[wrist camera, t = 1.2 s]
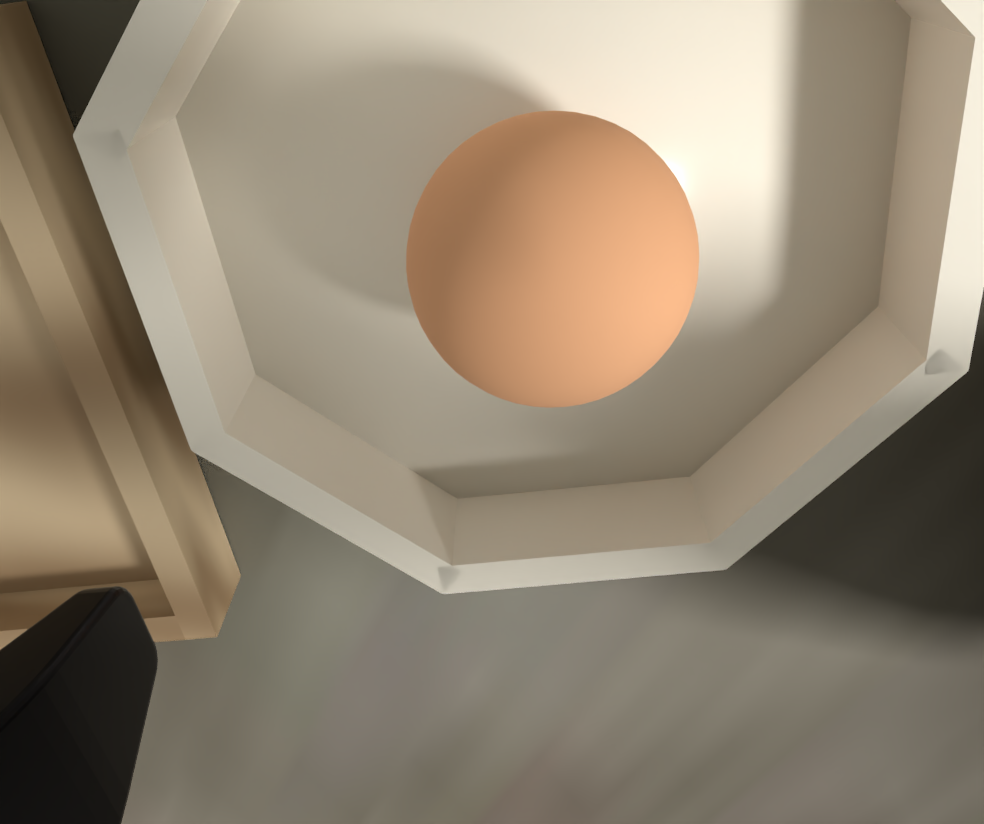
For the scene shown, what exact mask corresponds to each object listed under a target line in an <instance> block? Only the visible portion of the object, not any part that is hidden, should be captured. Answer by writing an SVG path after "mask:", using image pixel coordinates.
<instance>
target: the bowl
mask: <svg viewBox="0 0 984 824" xmlns="http://www.w3.org/2000/svg"><path fill="white" fill-rule="evenodd" d="M539 111H569V112H577V113H582V114H587V115H591V116H596V117H599V118H601V119H604V120H607V121H610V122H612V123H615V124H617V125H618V126H620V127H622V128H624V129H626V130H628V131H630V132H631V133H633V134H634V135H636V136H637V137H638V138H640V139H641V140H642V141H644V142H645V143H646V144H647V145H649V146H650V147H651V148H652V149H653V150H654V151H655V152H656V153H657V154H658V155H659V156H660V157H661V158H662V159H663V160H664V162H665V163H666V164H667V166H668V167H669V168H670V169H671V171H672V172H673V173H674V175H675V176H676V178H677V180H678V181H679V183H680V185H681V187H682V189H683V190H684V192H685V194H686V197H687V200H688V202H689V205H690V208H691V210H692V213H693V216H694V220H695V224H696V229H697V233H698V243H699V270H698V281H697V286H696V290H695V295H694V299H693V301H692V304H691V307H690V310H689V313H688V315H687V318H686V320H685V322H684V324H683V326H682V328H681V330H680V332H679V334H678V336H677V337H676V339H675V340H674V342H673V343H672V344H671V346H670V347H669V349H668V350H667V351H666V352H665V353H664V355H663V356H662V357H661V358H660V359H659V360H658V361H657V362H656V363H655V364H654V365H653V366H652V367H651V368H650V369H649V370H648V371H647V372H646V373H644V374H643V375H642V376H641V377H640V378H638V379H637V380H635V381H634V382H632V383H631V384H630V385H628V386H627V387H625V388H623V389H621V390H619V391H617V392H615V393H614V394H611V395H609V396H606V397H604V398H601V399H599V400H596V401H592V402H589V403H585V404H581V405H575V406H568V407H553V408H547V407H533V406H527V405H521V404H516V403H513V402H510V401H507V400H503V399H501V398H498V397H496V396H494V395H491V394H489V393H487V392H485V391H483V390H482V389H480V388H478V387H477V386H475V385H473V384H472V383H470V382H468V381H467V380H466V379H464V378H463V377H462V376H461V375H459V374H458V373H457V372H455V371H454V370H453V369H452V368H451V367H450V366H449V365H448V364H447V363H446V362H445V361H444V360H443V358H442V357H441V356H440V354H439V353H438V352H437V351H436V349H435V348H434V347H433V345H432V344H431V342H430V341H429V339H428V338H427V336H426V334H425V332H424V331H423V329H422V327H421V325H420V323H419V320H418V318H417V315H416V313H415V311H414V307H413V303H412V299H411V296H410V292H409V288H408V281H407V273H406V250H407V242H408V235H409V229H410V224H411V221H412V218H413V214H414V211H415V208H416V206H417V204H418V201H419V199H420V197H421V195H422V193H423V191H424V189H425V187H426V185H427V184H428V182H429V180H430V179H431V177H432V176H433V174H434V173H435V171H436V170H437V168H438V167H439V166H440V165H441V164H442V163H443V161H444V160H445V159H446V158H447V157H448V155H450V154H451V153H452V152H453V151H454V150H455V149H456V148H457V147H458V146H460V145H461V144H462V143H463V142H464V141H466V140H467V139H469V138H470V137H472V136H473V135H475V134H476V133H478V132H479V131H481V130H483V129H485V128H487V127H489V126H491V125H493V124H495V123H497V122H499V121H502V120H505V119H508V118H511V117H514V116H517V115H522V114H527V113H532V112H539ZM73 138H74V141H75V143H76V146H77V149H78V151H79V154H80V157H81V159H82V162H83V165H84V167H85V170H86V173H87V175H88V178H89V181H90V183H91V186H92V188H93V191H94V194H95V196H96V199H97V202H98V204H99V207H100V210H101V212H102V215H103V218H104V220H105V223H106V226H107V228H108V231H109V234H110V236H111V239H112V242H113V244H114V247H115V250H116V252H117V255H118V258H119V260H120V263H121V266H122V268H123V271H124V274H125V276H126V279H127V282H128V284H129V287H130V290H131V292H132V295H133V298H134V300H135V303H136V306H137V308H138V311H139V313H140V316H141V319H142V321H143V324H144V327H145V329H146V332H147V335H148V337H149V340H150V343H151V345H152V348H153V351H154V353H155V356H156V359H157V361H158V364H159V367H160V369H161V372H162V375H163V377H164V380H165V383H166V385H167V388H168V391H169V393H170V396H171V399H172V401H173V404H174V407H175V409H176V412H177V415H178V417H179V420H180V423H181V425H182V428H183V430H184V433H185V436H186V438H187V441H188V444H189V446H190V449H191V450H192V452H194V453H196V454H198V455H199V456H201V457H203V458H205V459H207V460H208V461H210V462H212V463H214V464H215V465H217V466H219V467H221V468H222V469H224V470H226V471H228V472H229V473H231V474H233V475H235V476H236V477H238V478H240V479H242V480H243V481H245V482H247V483H249V484H250V485H252V486H254V487H256V488H257V489H259V490H261V491H263V492H264V493H266V494H268V495H270V496H271V497H273V498H275V499H277V500H278V501H280V502H282V503H284V504H285V505H287V506H289V507H291V508H292V509H294V510H296V511H298V512H299V513H301V514H303V515H305V516H306V517H308V518H310V519H312V520H314V521H315V522H317V523H319V524H321V525H322V526H324V527H326V528H328V529H329V530H331V531H333V532H335V533H336V534H338V535H340V536H342V537H343V538H345V539H347V540H349V541H350V542H352V543H354V544H356V545H357V546H359V547H361V548H363V549H364V550H366V551H368V552H370V553H371V554H373V555H375V556H377V557H378V558H380V559H382V560H384V561H385V562H387V563H389V564H391V565H392V566H394V567H396V568H398V569H399V570H401V571H403V572H405V573H406V574H408V575H410V576H412V577H414V578H415V579H417V580H419V581H421V582H422V583H424V584H426V585H428V586H429V587H431V588H433V589H435V590H436V591H438V592H440V593H442V594H451V593H463V592H474V591H486V590H498V589H509V588H521V587H532V586H544V585H556V584H567V583H579V582H590V581H602V580H613V579H625V578H637V577H648V576H660V575H671V574H683V573H694V572H706V571H718V570H726V569H728V568H729V567H730V566H731V565H732V564H734V563H735V562H736V561H737V560H739V559H740V558H741V557H742V556H743V555H745V554H746V553H747V552H748V551H750V550H751V549H752V548H753V547H754V546H756V545H757V544H758V543H759V542H761V541H762V540H763V539H764V538H765V537H767V536H768V535H769V534H770V533H771V532H773V531H774V530H775V529H776V528H778V527H779V526H780V525H781V524H782V523H784V522H785V521H786V520H787V519H789V518H790V517H791V516H792V515H793V514H795V513H796V512H797V511H798V510H800V509H801V508H802V507H803V506H804V505H806V504H807V503H808V502H809V501H811V500H812V499H813V498H814V497H815V496H817V495H818V494H819V493H820V492H822V491H823V490H824V489H825V488H826V487H828V486H829V485H830V484H831V483H833V482H834V481H835V480H836V479H837V478H839V477H840V476H841V475H842V474H844V473H845V472H846V471H847V470H848V469H850V468H851V467H852V466H853V465H855V464H856V463H857V462H858V461H859V460H861V459H862V458H863V457H864V456H866V455H867V454H868V453H869V452H870V451H872V450H873V449H874V448H875V447H876V446H878V445H879V444H880V443H881V442H883V441H884V440H885V439H886V438H887V437H889V436H890V435H891V434H892V433H894V432H895V431H896V430H897V429H898V428H900V427H901V426H902V425H903V424H905V423H906V422H907V421H908V420H909V419H911V418H912V417H913V416H914V415H916V414H917V413H918V412H919V411H920V410H922V409H923V408H924V407H925V406H927V405H928V404H929V403H930V402H931V401H933V400H934V399H935V398H936V397H938V396H939V395H940V394H941V393H942V392H944V391H945V390H946V389H947V388H949V387H950V386H951V385H952V384H953V383H955V382H956V381H957V380H958V379H960V378H961V377H962V376H963V375H964V374H966V373H967V372H968V371H969V365H970V360H971V354H972V349H973V343H974V338H975V332H976V327H977V321H978V316H979V310H980V305H981V299H982V294H983V288H984V0H140V1H139V3H138V5H137V7H136V9H135V11H134V13H133V15H132V17H131V19H130V21H129V23H128V25H127V27H126V29H125V31H124V33H123V35H122V37H121V39H120V41H119V43H118V45H117V47H116V49H115V51H114V53H113V55H112V57H111V59H110V61H109V63H108V65H107V67H106V69H105V71H104V73H103V75H102V77H101V79H100V81H99V83H98V85H97V87H96V89H95V91H94V93H93V95H92V97H91V99H90V101H89V103H88V105H87V107H86V109H85V111H84V113H83V115H82V117H81V119H80V121H79V123H78V126H77V128H76V130H75V132H74V134H73Z"/></svg>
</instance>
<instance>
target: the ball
mask: <svg viewBox="0 0 984 824" xmlns="http://www.w3.org/2000/svg"><path fill="white" fill-rule="evenodd" d="M698 270H699V243H698V233H697V229H696V224H695V220H694V216H693V213H692V210H691V208H690V205H689V202H688V200H687V197H686V194H685V192H684V190H683V189H682V187H681V185H680V183H679V181H678V180H677V178H676V176H675V175H674V173H673V172H672V171H671V169H670V168H669V167H668V166H667V164H666V163H665V162H664V160H663V159H662V158H661V157H660V156H659V155H658V154H657V153H656V152H655V151H654V150H653V149H652V148H651V147H650V146H649V145H647V144H646V143H645V142H644V141H642V140H641V139H640V138H638V137H637V136H636V135H634V134H633V133H631V132H630V131H628V130H626V129H624V128H622V127H620V126H618V125H617V124H615V123H612V122H610V121H607V120H604V119H601V118H599V117H596V116H591V115H587V114H582V113H577V112H569V111H539V112H532V113H527V114H522V115H517V116H514V117H511V118H508V119H505V120H502V121H499V122H497V123H495V124H493V125H491V126H489V127H487V128H485V129H483V130H481V131H479V132H478V133H476V134H475V135H473V136H472V137H470V138H469V139H467V140H466V141H464V142H463V143H462V144H461V145H460V146H458V147H457V148H456V149H455V150H454V151H453V152H452V153H451V154H450V155H448V157H447V158H446V159H445V160H444V161H443V163H442V164H441V165H440V166H439V167H438V168H437V170H436V171H435V173H434V174H433V176H432V177H431V179H430V180H429V182H428V184H427V185H426V187H425V189H424V191H423V193H422V195H421V197H420V199H419V201H418V204H417V206H416V208H415V211H414V214H413V218H412V221H411V224H410V229H409V235H408V242H407V250H406V273H407V281H408V288H409V292H410V296H411V299H412V303H413V307H414V311H415V313H416V315H417V318H418V320H419V323H420V325H421V327H422V329H423V331H424V332H425V334H426V336H427V338H428V339H429V341H430V342H431V344H432V345H433V347H434V348H435V349H436V351H437V352H438V353H439V354H440V356H441V357H442V358H443V360H444V361H445V362H446V363H447V364H448V365H449V366H450V367H451V368H452V369H453V370H454V371H455V372H457V373H458V374H459V375H461V376H462V377H463V378H464V379H466V380H467V381H468V382H470V383H472V384H473V385H475V386H477V387H478V388H480V389H482V390H483V391H485V392H487V393H489V394H491V395H494V396H496V397H498V398H501V399H503V400H507V401H510V402H513V403H516V404H521V405H527V406H533V407H547V408H553V407H568V406H575V405H581V404H585V403H589V402H592V401H596V400H599V399H601V398H604V397H606V396H609V395H611V394H614V393H615V392H617V391H619V390H621V389H623V388H625V387H627V386H628V385H630V384H631V383H632V382H634V381H635V380H637V379H638V378H640V377H641V376H642V375H643V374H644V373H646V372H647V371H648V370H649V369H650V368H651V367H652V366H653V365H654V364H655V363H656V362H657V361H658V360H659V359H660V358H661V357H662V356H663V355H664V353H665V352H666V351H667V350H668V349H669V347H670V346H671V344H672V343H673V342H674V340H675V339H676V337H677V336H678V334H679V332H680V330H681V328H682V326H683V324H684V322H685V320H686V318H687V315H688V313H689V310H690V307H691V304H692V301H693V299H694V295H695V290H696V286H697V281H698Z"/></svg>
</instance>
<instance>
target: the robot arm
mask: <svg viewBox="0 0 984 824" xmlns="http://www.w3.org/2000/svg"><path fill="white" fill-rule="evenodd" d="M157 662H158V659H157V650H156V646H155V643H154V641H153V639H152V636H151V634H150V632H149V630H148V628H147V626H146V624H145V621H144V619H143V617H142V615H141V613H140V611H139V609H138V606H137V604H136V602H135V600H134V598H133V596H132V595H131V593H130V592H129V591H128V590H127V589H125V588H123V587H119V586H113V587H102V588H90V589H85V590H81V591H79V592H77V593H76V594H74V595H73V596H72V597H70V598H69V599H68V600H66V601H65V602H64V603H62V604H61V605H60V606H58V607H57V608H56V609H54V610H53V611H52V612H50V613H49V614H48V615H46V616H45V617H43V618H42V619H41V620H39V621H38V622H37V623H35V624H34V625H33V626H31V627H30V628H29V629H27V630H26V631H25V632H23V633H22V634H21V635H19V636H18V637H17V638H15V639H14V640H13V641H11V642H10V643H9V644H7V645H6V646H5V647H3V648H2V649H1V650H0V824H121V821H122V818H123V814H124V810H125V806H126V802H127V798H128V795H129V790H130V786H131V781H132V777H133V773H134V768H135V764H136V760H137V755H138V751H139V746H140V742H141V738H142V733H143V729H144V725H145V720H146V716H147V711H148V707H149V703H150V698H151V694H152V689H153V685H154V681H155V676H156V672H157Z"/></svg>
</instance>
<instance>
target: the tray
mask: <svg viewBox="0 0 984 824" xmlns="http://www.w3.org/2000/svg"><path fill="white" fill-rule="evenodd" d="M74 132H75V130H74V127H73V125H72V122H71V119H70V117H69V114H68V111H67V109H66V106H65V103H64V101H63V98H62V95H61V93H60V90H59V87H58V85H57V82H56V79H55V77H54V74H53V71H52V68H51V66H50V63H49V60H48V58H47V55H46V52H45V50H44V47H43V44H42V42H41V39H40V36H39V34H38V31H37V28H36V26H35V23H34V20H33V18H32V15H31V12H30V10H29V7H28V4H27V2H26V1H20V2H14V3H7V4H0V650H1V649H2V648H3V647H5V646H6V645H7V644H9V643H10V642H11V641H13V640H14V639H15V638H17V637H18V636H19V635H21V634H22V633H23V632H25V631H26V630H27V629H29V628H30V627H31V626H33V625H34V624H35V623H37V622H38V621H39V620H41V619H42V618H43V617H45V616H46V615H48V614H49V613H50V612H52V611H53V610H54V609H56V608H57V607H58V606H60V605H61V604H62V603H64V602H65V601H66V600H68V599H69V598H70V597H72V596H73V595H74V594H76V593H77V592H79V591H81V590H85V589H90V588H102V587H113V586H119V587H123V588H125V589H127V590H128V591H129V592H130V593H131V595H132V596H133V598H134V600H135V602H136V604H137V606H138V609H139V611H140V613H141V615H142V617H143V619H144V621H145V624H146V626H147V628H148V630H149V632H150V634H151V636H152V639H153V641H154V642H164V641H175V640H187V639H199V638H211V637H217V636H218V633H219V631H220V628H221V626H222V623H223V620H224V618H225V615H226V613H227V610H228V608H229V605H230V602H231V600H232V597H233V595H234V592H235V590H236V587H237V584H238V582H239V579H240V577H241V574H240V572H239V569H238V566H237V564H236V561H235V558H234V556H233V553H232V550H231V548H230V545H229V542H228V539H227V537H226V534H225V531H224V529H223V526H222V523H221V521H220V518H219V515H218V513H217V510H216V507H215V505H214V502H213V499H212V497H211V494H210V491H209V489H208V486H207V483H206V481H205V478H204V475H203V473H202V470H201V467H200V465H199V462H198V459H197V457H196V454H195V453H194V452H192V450H191V449H190V446H189V444H188V441H187V438H186V436H185V433H184V430H183V428H182V425H181V423H180V420H179V417H178V415H177V412H176V409H175V407H174V404H173V401H172V399H171V396H170V393H169V391H168V388H167V385H166V383H165V380H164V377H163V375H162V372H161V369H160V367H159V364H158V361H157V359H156V356H155V353H154V351H153V348H152V345H151V343H150V340H149V337H148V335H147V332H146V329H145V327H144V324H143V321H142V319H141V316H140V313H139V311H138V308H137V306H136V303H135V300H134V298H133V295H132V292H131V290H130V287H129V284H128V282H127V279H126V276H125V274H124V271H123V268H122V266H121V263H120V260H119V258H118V255H117V252H116V250H115V247H114V244H113V242H112V239H111V236H110V234H109V231H108V228H107V226H106V223H105V220H104V218H103V215H102V212H101V210H100V207H99V204H98V202H97V199H96V196H95V194H94V191H93V188H92V186H91V183H90V181H89V178H88V175H87V173H86V170H85V167H84V165H83V162H82V159H81V157H80V154H79V151H78V149H77V146H76V143H75V141H74V138H73V134H74Z"/></svg>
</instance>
